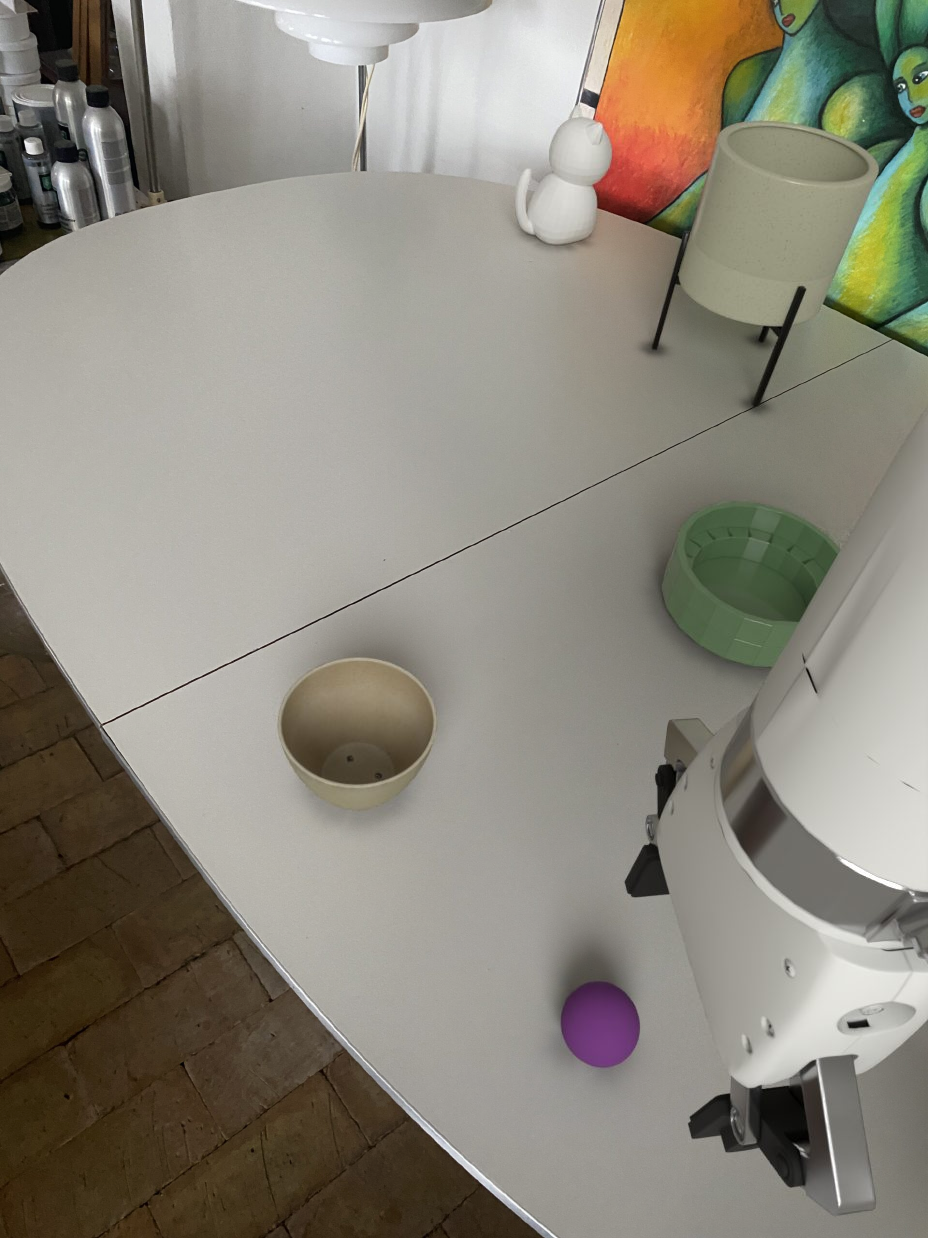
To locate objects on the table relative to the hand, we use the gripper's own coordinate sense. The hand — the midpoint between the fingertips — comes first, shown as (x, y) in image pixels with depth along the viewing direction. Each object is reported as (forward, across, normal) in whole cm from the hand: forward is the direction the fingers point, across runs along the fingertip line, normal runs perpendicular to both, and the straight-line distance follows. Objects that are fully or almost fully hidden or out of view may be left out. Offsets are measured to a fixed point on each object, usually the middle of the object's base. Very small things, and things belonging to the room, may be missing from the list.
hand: (688, 996), depth 37 cm
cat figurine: (+16, +102, -17) cm, 105 cm away
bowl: (+16, +35, -20) cm, 44 cm away
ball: (+16, +3, 0) cm, 16 cm away
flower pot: (+16, +21, +13) cm, 29 cm away
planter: (+16, +72, -31) cm, 80 cm away
